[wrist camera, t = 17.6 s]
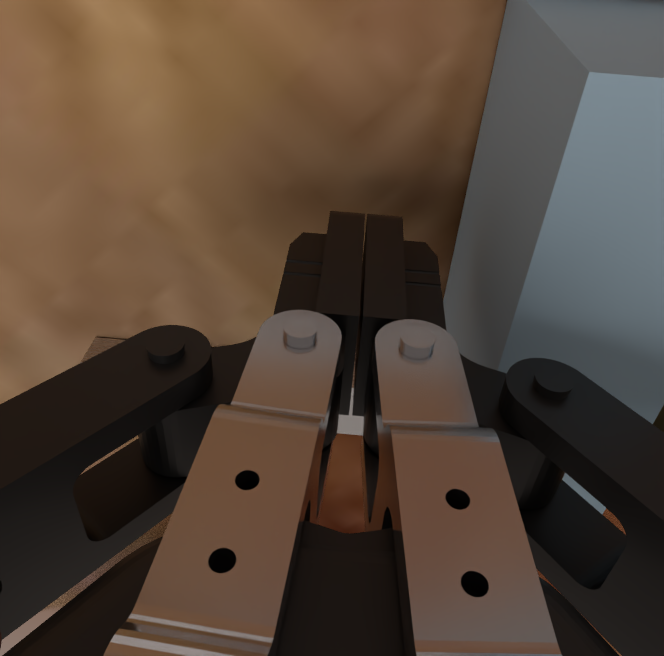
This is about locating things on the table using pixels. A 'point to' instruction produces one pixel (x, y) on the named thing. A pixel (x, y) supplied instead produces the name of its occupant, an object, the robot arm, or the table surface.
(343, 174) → the table surface
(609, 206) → the free jaw
